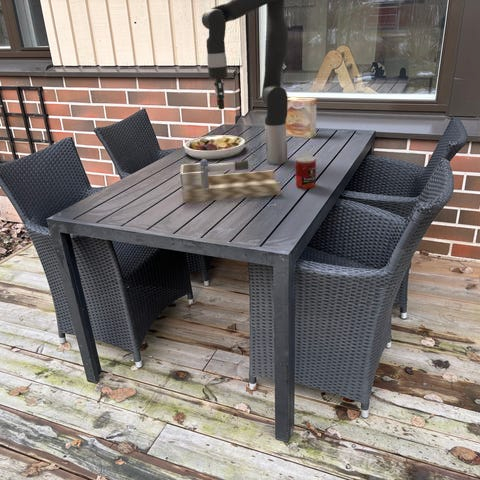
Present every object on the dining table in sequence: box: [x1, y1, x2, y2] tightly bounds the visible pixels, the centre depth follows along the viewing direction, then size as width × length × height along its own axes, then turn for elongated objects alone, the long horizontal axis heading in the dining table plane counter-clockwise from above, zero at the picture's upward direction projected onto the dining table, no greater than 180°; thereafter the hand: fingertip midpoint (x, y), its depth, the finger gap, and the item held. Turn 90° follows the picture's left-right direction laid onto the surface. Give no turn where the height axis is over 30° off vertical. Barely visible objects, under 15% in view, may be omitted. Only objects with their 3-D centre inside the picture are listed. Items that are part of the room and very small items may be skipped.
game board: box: [179, 162, 282, 204], centre depth 183 cm, size 36×16×10 cm, turn 95°
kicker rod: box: [199, 159, 251, 189], centre depth 182 cm, size 18×4×11 cm, turn 95°
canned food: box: [295, 155, 317, 190], centre depth 184 cm, size 8×8×11 cm
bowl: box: [183, 134, 246, 160], centre depth 237 cm, size 30×30×8 cm
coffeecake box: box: [286, 96, 317, 139], centre depth 253 cm, size 15×7×20 cm, turn 55°
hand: (220, 107), depth 195 cm, fingers open, 8 cm apart
